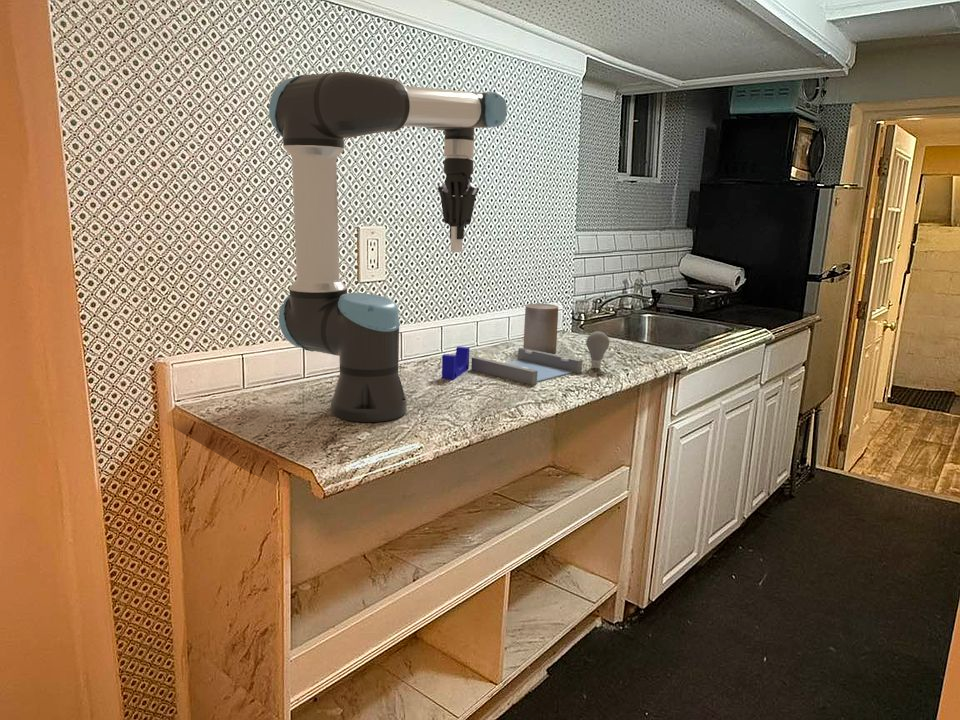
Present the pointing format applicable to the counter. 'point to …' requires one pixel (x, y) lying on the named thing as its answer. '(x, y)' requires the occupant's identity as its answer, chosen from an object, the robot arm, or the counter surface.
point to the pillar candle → (541, 327)
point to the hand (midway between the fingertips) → (456, 251)
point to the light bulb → (597, 347)
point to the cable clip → (455, 363)
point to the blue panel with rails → (529, 366)
